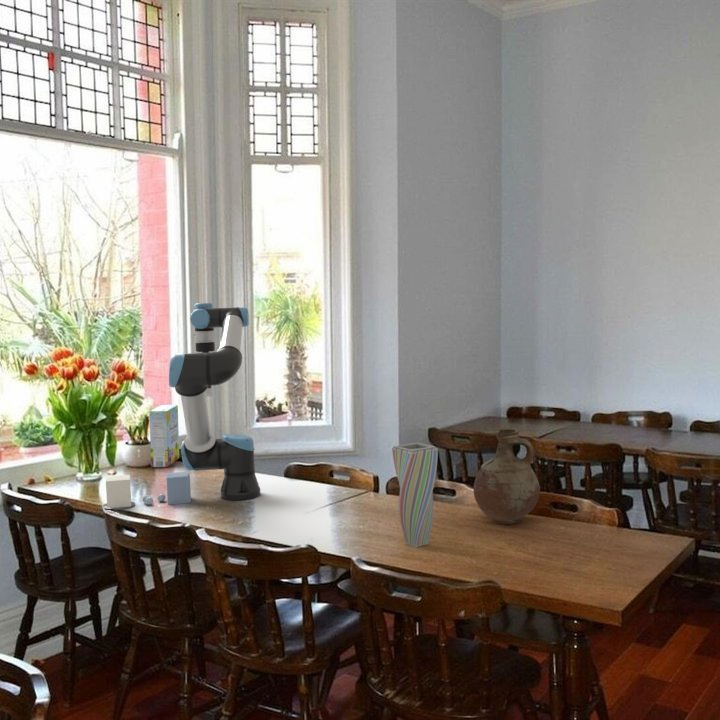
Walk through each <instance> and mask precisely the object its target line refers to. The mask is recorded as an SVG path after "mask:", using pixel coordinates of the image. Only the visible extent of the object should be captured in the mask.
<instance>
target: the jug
mask: <svg viewBox="0 0 720 720" xmlns="http://www.w3.org/2000/svg"><path fill="white" fill-rule="evenodd" d="M495 436H496V438H497V439H496V440H497V441H498V442H497V446H496V451H495V455H494V456H492V457H491V458H490V459H488V460H487V461H485V462H484V463H482V465H480V468H479V470H478V472H477V474H476V476H475V479H474V483H473V497H474V500H475V502H476V504H477V506H478V509H480V510H481V511H482V513H484V514H485V515H486V516H487V517H489V518H491V521H492V522H493V523H494V524H500V525H511V524H512V525H513V524H517V523H520V522H521V521H522V518H524V517H526V516H527V515H529V514H530V513H531V512H532V511H533V509H534V508H536V506H537V504H538V501H539V500H540V498H539V497H540V494H541V487H540V483H539V480H538V478H537V475H536V473H535V472H534V469H533V468H532V465H531V464H532V462H533V460H534V455H535V448H534V445H533V444H532V443H531V441H529V440H528V439H526V438H520V435H519V430H518V429H515V428H501V429H499V431H498V432H497V433H496V435H495ZM515 445H519V446H520V445H521V446H523V447H524V448H526V454H525V456H524V457H523V458H520V457H518V456H517V455H515V453H514V449H513V446H515Z"/></svg>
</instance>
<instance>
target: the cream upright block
mask: <svg viewBox="0 0 720 720" xmlns="http://www.w3.org/2000/svg"><path fill="white" fill-rule="evenodd" d="M105 491H106V504H107V507H110V508H119V507H130V506H131V501H132V491H131V475H130V474H123V475H110V476H106V478H105Z"/></svg>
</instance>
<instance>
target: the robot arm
mask: <svg viewBox="0 0 720 720" xmlns="http://www.w3.org/2000/svg"><path fill="white" fill-rule="evenodd" d="M249 315H250V314H249V310H248V308H247V307H239V306H236V307H214V305H213V304H212V303H211V302H197V303H194V305H193V311H192V312H191V314H190V315H189V316H190V317H189V321H190V324H191V325H192V326H193V327H194V332H195V333H193V337H194V338H195V339H194V340H195V352H190V353H186V352H181V353H174V354H173V355H172V356H171V358H170V360H169V361H170V362H169V371H168V386H169V387H170V388H174V390H175V392H176V394H177V395H179V396H180V399H181V406H182V412H183V418H184V423H185V428H186V429H185V430H186V434H187V435H186V437H185V438H184V439H183V441H182V442H181V445H180V452H181V459H182V465H183V466H184V468H185V469H186V470H187V471H196V472H197V471H211V470H213V471H214V470H217V471H218V470H223V480H222V484H221V488H220V492H219V493H220V498H221V499H224V500H228V501H229V500H230V501H242V500H243V501H244V500H251V499H254V498H258V497H259V496H260V495H261V487H260V485H259V481H258V478H257V477H256V469H255V463H256V462H255V445H254V443H255V442H254V440H253V438H252V437H251V436H249V435H246V434H240V433H239V434H238V433H226V434H223V435H222V437H221V438H216V436H215V434H214V433H213V432H212V431H211V426H210V419H209V418H210V417H209V412H208V405H207V398H206V397H213V396H214V395H213V386H219V385H222V384H224V383H227V382H228V381H230V380H231V379H232V378H234V376H236V374H238V371H239V370H240V369H241V366H242V364H243V355H242V352H241V347H242V346H241V345H242V335H243V328H245V327H248V326H249V325H250V324H249V323H250V320H249V319H250V318H249V317H250V316H249ZM214 328H215V329H218V328H221V332H220V333H221V335H220V340H219V348H218V349H217V350H216V344H215V342H214V341H215V329H214ZM215 350H216V351H215Z"/></svg>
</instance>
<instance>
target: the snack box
mask: <svg viewBox="0 0 720 720" xmlns="http://www.w3.org/2000/svg"><path fill="white" fill-rule="evenodd" d="M179 435H180V434H179V406H178V404H161V405H159V406H157V407H155V408H153V409H151V410H149V436H150V467H151V468H168V467H170V466H171V465H172V464H174V463H175V462H176V461H177V460H179V459H180V443H179V442H180V438H179Z"/></svg>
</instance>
